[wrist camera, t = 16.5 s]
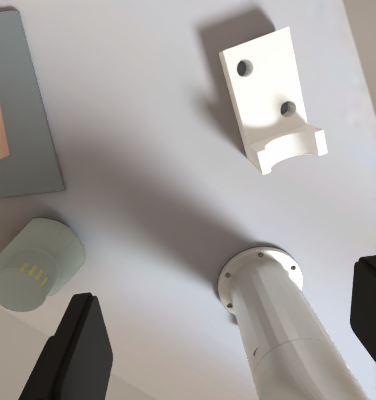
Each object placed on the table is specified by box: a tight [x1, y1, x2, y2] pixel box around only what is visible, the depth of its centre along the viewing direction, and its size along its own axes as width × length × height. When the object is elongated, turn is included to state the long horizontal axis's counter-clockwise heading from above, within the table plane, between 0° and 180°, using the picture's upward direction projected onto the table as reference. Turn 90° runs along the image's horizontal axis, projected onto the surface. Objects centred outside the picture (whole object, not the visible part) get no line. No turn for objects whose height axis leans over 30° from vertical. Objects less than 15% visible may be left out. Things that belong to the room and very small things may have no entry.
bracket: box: [218, 27, 328, 175], centre depth 34 cm, size 13×7×8 cm, turn 19°
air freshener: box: [0, 218, 86, 312], centre depth 39 cm, size 11×8×10 cm
